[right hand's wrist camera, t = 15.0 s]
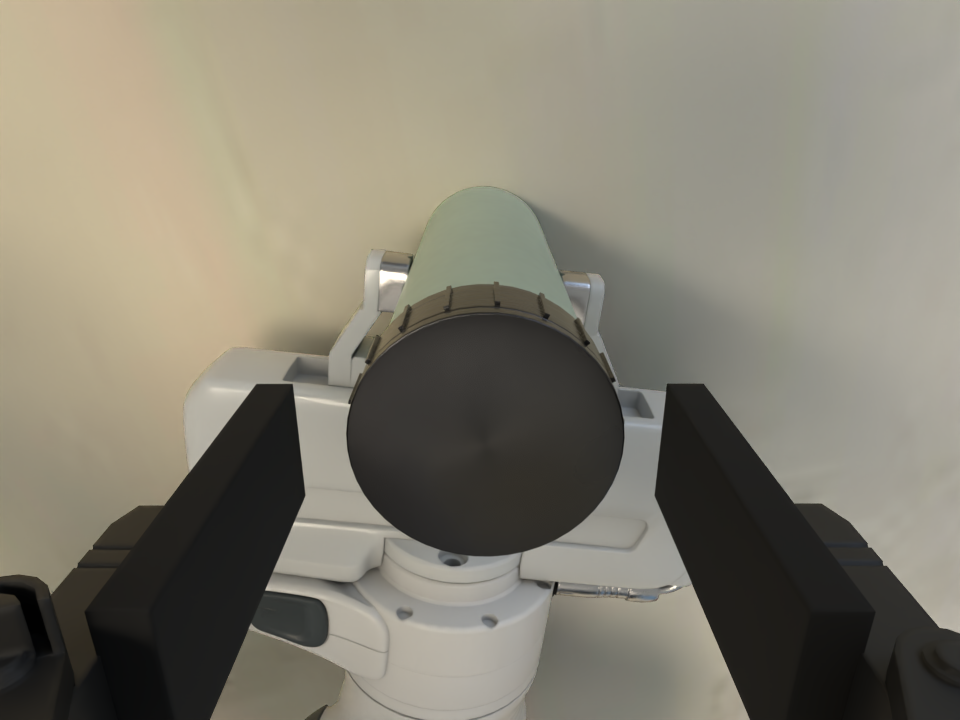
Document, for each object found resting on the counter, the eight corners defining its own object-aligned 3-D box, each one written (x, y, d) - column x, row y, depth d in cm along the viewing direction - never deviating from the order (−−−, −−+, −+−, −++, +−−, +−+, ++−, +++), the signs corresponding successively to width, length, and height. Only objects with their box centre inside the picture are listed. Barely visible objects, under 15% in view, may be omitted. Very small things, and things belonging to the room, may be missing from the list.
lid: (448, 227, 14) (443, 249, 12) (663, 374, 15) (687, 414, 13) (313, 429, 16) (290, 474, 14) (514, 544, 17) (518, 600, 15)
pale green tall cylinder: (467, 160, 28) (449, 261, 13) (568, 232, 29) (665, 405, 14) (400, 263, 30) (312, 461, 14) (497, 327, 31) (514, 575, 15)
